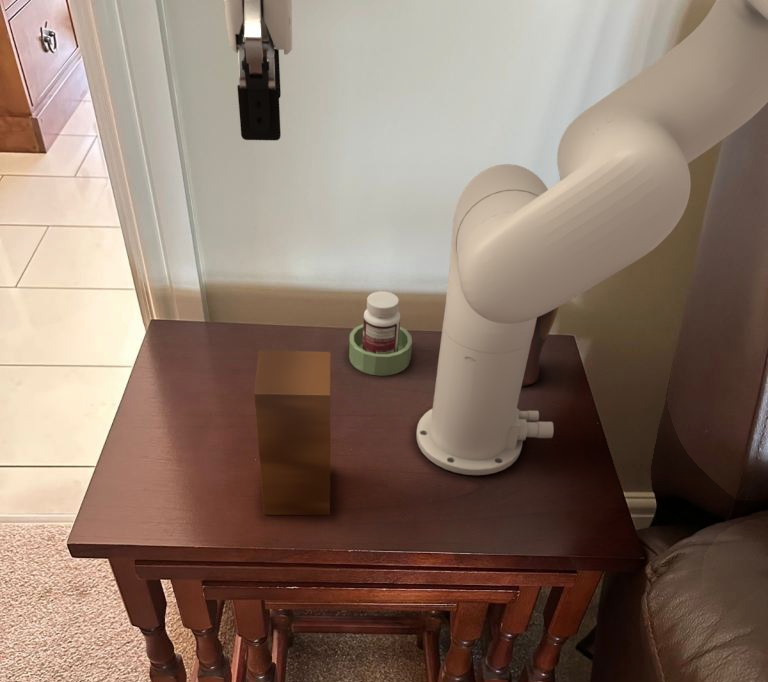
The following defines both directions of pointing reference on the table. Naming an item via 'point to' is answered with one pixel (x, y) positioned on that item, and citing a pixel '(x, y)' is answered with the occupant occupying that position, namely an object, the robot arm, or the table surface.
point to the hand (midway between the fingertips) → (262, 117)
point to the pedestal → (294, 431)
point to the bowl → (379, 362)
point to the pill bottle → (381, 323)
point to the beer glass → (538, 346)
